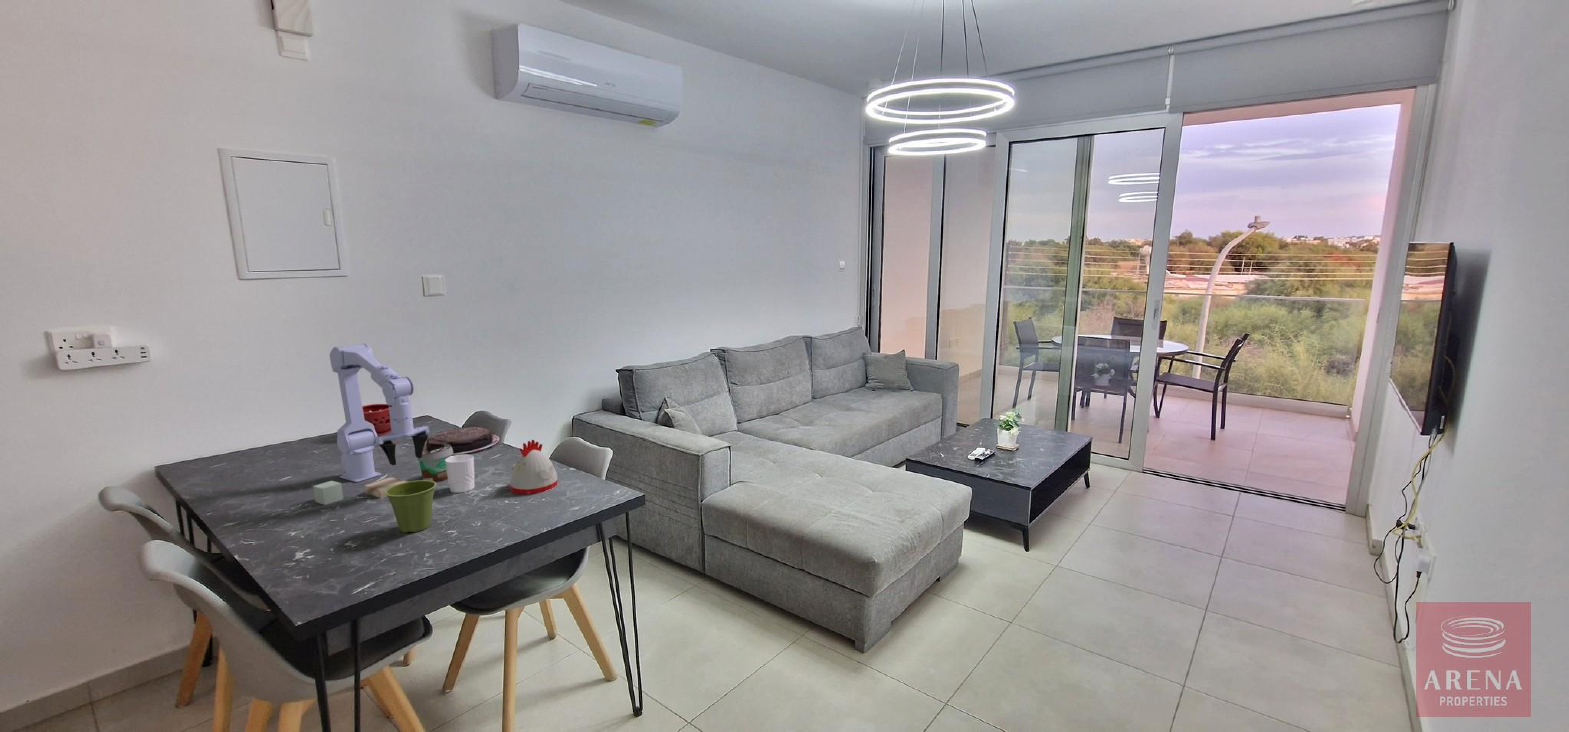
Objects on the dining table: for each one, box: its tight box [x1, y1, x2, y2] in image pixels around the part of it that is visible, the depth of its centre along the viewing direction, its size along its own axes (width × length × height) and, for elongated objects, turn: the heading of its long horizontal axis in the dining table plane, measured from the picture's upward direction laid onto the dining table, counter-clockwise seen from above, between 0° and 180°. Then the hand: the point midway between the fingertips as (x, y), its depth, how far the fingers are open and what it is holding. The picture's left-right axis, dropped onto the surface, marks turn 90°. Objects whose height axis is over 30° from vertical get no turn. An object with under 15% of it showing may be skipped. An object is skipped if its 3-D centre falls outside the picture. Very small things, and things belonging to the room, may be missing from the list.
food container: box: [416, 444, 453, 483], centre depth 202 cm, size 12×6×10 cm, turn 168°
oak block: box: [364, 477, 408, 499], centre depth 192 cm, size 8×8×3 cm
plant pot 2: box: [385, 479, 437, 533], centre depth 166 cm, size 12×12×11 cm
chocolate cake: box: [422, 426, 500, 456], centre depth 237 cm, size 28×28×7 cm
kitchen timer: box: [509, 439, 559, 495], centre depth 195 cm, size 14×14×15 cm
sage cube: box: [313, 480, 344, 506], centre depth 185 cm, size 5×5×5 cm
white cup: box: [445, 454, 476, 494], centre depth 193 cm, size 8×8×10 cm
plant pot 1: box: [362, 403, 392, 437], centre depth 250 cm, size 13×13×12 cm
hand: (406, 460), depth 190 cm, fingers open, 7 cm apart
